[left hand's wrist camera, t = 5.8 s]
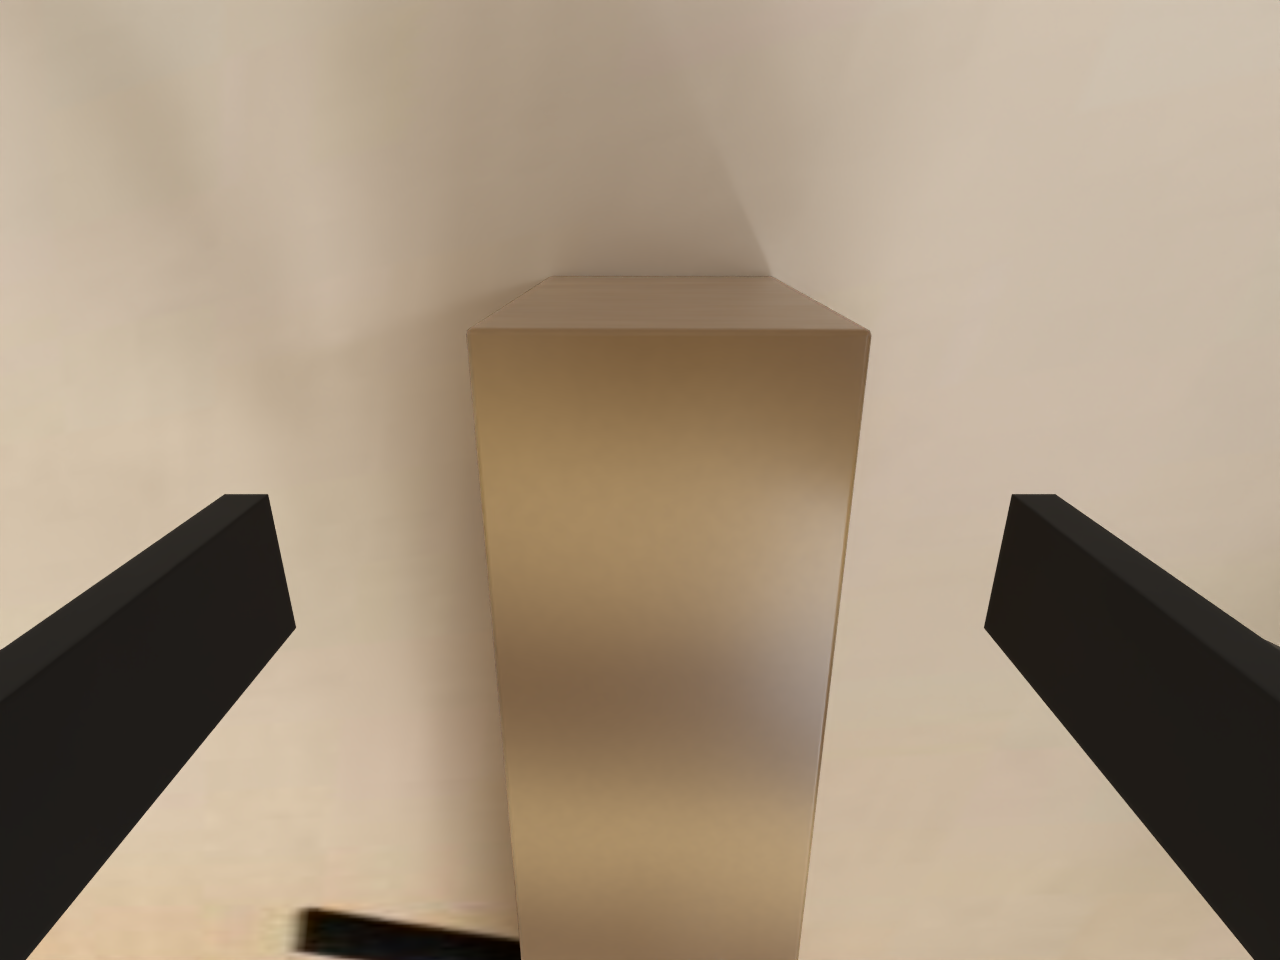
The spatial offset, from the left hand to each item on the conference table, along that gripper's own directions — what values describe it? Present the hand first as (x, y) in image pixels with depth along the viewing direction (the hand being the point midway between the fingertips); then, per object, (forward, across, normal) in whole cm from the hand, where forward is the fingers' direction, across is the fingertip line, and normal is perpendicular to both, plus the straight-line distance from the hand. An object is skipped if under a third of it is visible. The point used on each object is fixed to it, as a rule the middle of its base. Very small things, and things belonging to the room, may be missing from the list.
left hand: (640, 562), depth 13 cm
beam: (+7, 0, -29) cm, 30 cm away
